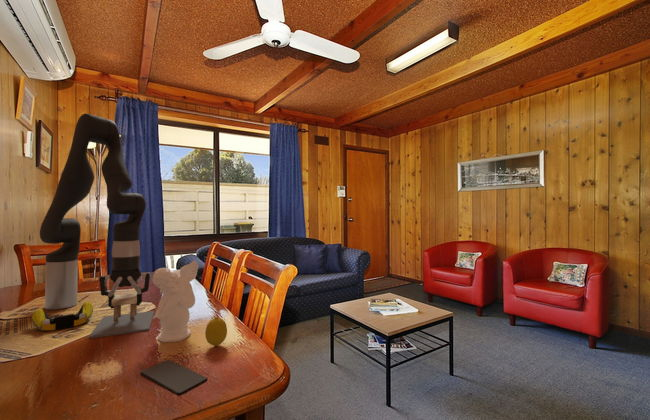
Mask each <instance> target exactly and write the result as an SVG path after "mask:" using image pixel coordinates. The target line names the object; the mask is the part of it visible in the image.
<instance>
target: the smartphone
mask: <svg viewBox="0 0 650 420" xmlns="http://www.w3.org/2000/svg"><path fill="white" fill-rule="evenodd" d="M140 375H141V376H143V377H144V378H146V379H148V380H149V381H151V382H153V383H155V384H157V385H158V386H160V387H163V388H164V389H166V390H168V391H169V392H171V393H173V394H175V395H177V396H182V395H184V394H185V393H187V392H189V391H191V390H192V389H194V388H195V387H196V388H197V387H199V386H200V385H202V384H204V383H205V381H206V382H208V377H206V376H204V375H202V374H200V373H198V372H195V371H194V370H192V369H190V368H188V367H185V366H183V365H181V364H179V363H176V362H174V361H173V360H170V359H166V360H164V361H162V362H159V363H157V364H154V365H153V366H150V367H148V368H145V369H142V370H141V371H140Z"/></svg>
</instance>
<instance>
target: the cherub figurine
mask: <svg viewBox="0 0 650 420" xmlns="http://www.w3.org/2000/svg"><path fill="white" fill-rule="evenodd" d="M198 271H199V264H198V261H197V260H195V259H194V260H192V261H191V262H190V263H188V264H185V265H183V266H182V267H180V269H178V270H177V269H175V270H174V271H171V269H170V268H166V267H159V268H158V269H156V270H154V272H153V275H152V283H153V285H154V286H156V288H158V289H159V293H160V294H162V297H161V298H160V300H159V303H158V305H157V309H156V311H155V312H154V315H153V318H155V319H158V320H159V324H160V326H161V327H162V328H160V333H159V334H158V336H157V338H158V340H159V341H160V342H162V343H171V342H173V343H174V342H175V343H177V342H180V341H183V340H185V339H187V338H189V337H190V335H191V333H192V332H191V329H190V328H189V324H188V323H189V321H190V315H191V313H190V310H189V309H191V308H193V307H194V306H195V304H196V296H195V295H196V294H195V293H194V289H193V286H192V284H191V282H192V281H194V280H195V279H196V277H197V275H198Z"/></svg>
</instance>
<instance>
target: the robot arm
mask: <svg viewBox="0 0 650 420" xmlns="http://www.w3.org/2000/svg"><path fill="white" fill-rule="evenodd" d="M90 143H94V144H99V145H104V146H105V147H106V149H107V151H108V152H107V154H106V156H105V158H104V160H103V162H102V165H101V174H102V177H103V180H104V183H105V185H106V207H107V210H108V211H109V212H110V213H112V214H114V215H128V217H127V219H126V220H124V221H118V222H116V223H114V225H113V229H112V232H113V233H112V234H113V235H112V237H113V239H112V246H111V248H112V249H111V272H110V274H106V275H105V274H103V275H100V277H99V278H98V279H99V280H98V281H99V287H100V295H101V296H104V297H105V296H106V297H107V299H108V301H107V302H108V303H107V305H108V307H109V308H110V309H112V310H113V309H114V306H112V299H113V298H114V297H115V295H116V294H115V293H116V292H117V289H118V288H123V287H132V288H133V289H134V290H135V292H136V293H137V307H138V306H140V305H141V304H142V302H143V293H145V292H146V293H147V292H148V291H149V288H150V282H151V272H150V271H148V272H142V271H141V268H140V266H141V265H140V264H141V247H140V246H141V245H140V227H141V223H142V220H143V216H144V214H145V211H146V205H147V204H146V203H147V202H146V199H145V197H144V196H143V194H141V193H137V192H136V193H135V192H127V191H129V190H130V189H131V188H132V186H133V183H132V180H131V177H130V174H129V172H128V168H127V167H126V164H125V159H124V154H123V147H122V146H123V145H122V141H121V134H120V130H119V127H118V125H117V123H115V121H113V120H111V119H108V118H106V117H102V116H99V115H98V116H97V115H94V114H90V113H83V114H81V115H80V116H79V118H78V119H77V122H76V125H75V129H74V132H73V137H72V142H71V146H70V149H69V153H68V156H67V159H66V162H65V164H64V167H63V170H62V171H61V174H60V178H59V181H58V183H57V188H56V191H55V193H54V196H53V198H52V202H51V204H50V206H49V208H48V210H47V212H46V214H45V216H44V219H43V220H42V222H41V225H40V228H39V237H40V240H41V242H43V243H45V244H62V245H61V246H60V247H59V248H57V249H56V250H53V251H51V252H49V253H47V254H46V255H45V285H44V287H45V290H44V291H45V293H44V294H45V298H44V302H45V303H44V308H45V310H62V309H66V308H71V307H73V306H76V305H78V275H79V274H78V273H79V272H78V271H79V270H78V265H79V264H78V262H79V261H78V259H79V258H78V257H79V253H80V247H81V246H80V245H81V244H80V242H81V235H82V234H81V231H82V228H81V223H80V222H79V220H78V219H77V218H73V217H72V218H71V217H69V218H68V217H67V218H65V216H66V215H67V214H68V212H69V211H70V210H72V208H74V207H75V206H76V205H78V204H80V202H82V201H83V200H84V199H85V198H86V197H88V195H89V193H90V192H91V190H92V186H93V184H94V182H95V181H94V180H95V173H94V170H93V168H92V167H93V166H92V165H91V163H90V161H89V158H88V146H89V144H90ZM141 277H142V279H143V280H144V283H143V284H144V286H143V287H141V285H140V282H139V279H140V278H141ZM109 279H110V280H111V281H112V282H113V283H114V284H113V285H112V287H111V288H110V290H108V284H107V283H108V282H109Z"/></svg>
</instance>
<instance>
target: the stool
mask: <svg viewBox="0 0 650 420" xmlns="http://www.w3.org/2000/svg"><path fill="white" fill-rule="evenodd" d="M114 295H115V297H114V298H113V299H112V306H114V308H113V315H114V322H118V318H119V317H121V315H122V306H125V305H130V307H129V309H130V311H129V314H130V320H134V319H135V315H137V313H138V312H137V310H138V308H137V307H138V306H137V292H136V293H135V292H134V293H123V294H114Z"/></svg>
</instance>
